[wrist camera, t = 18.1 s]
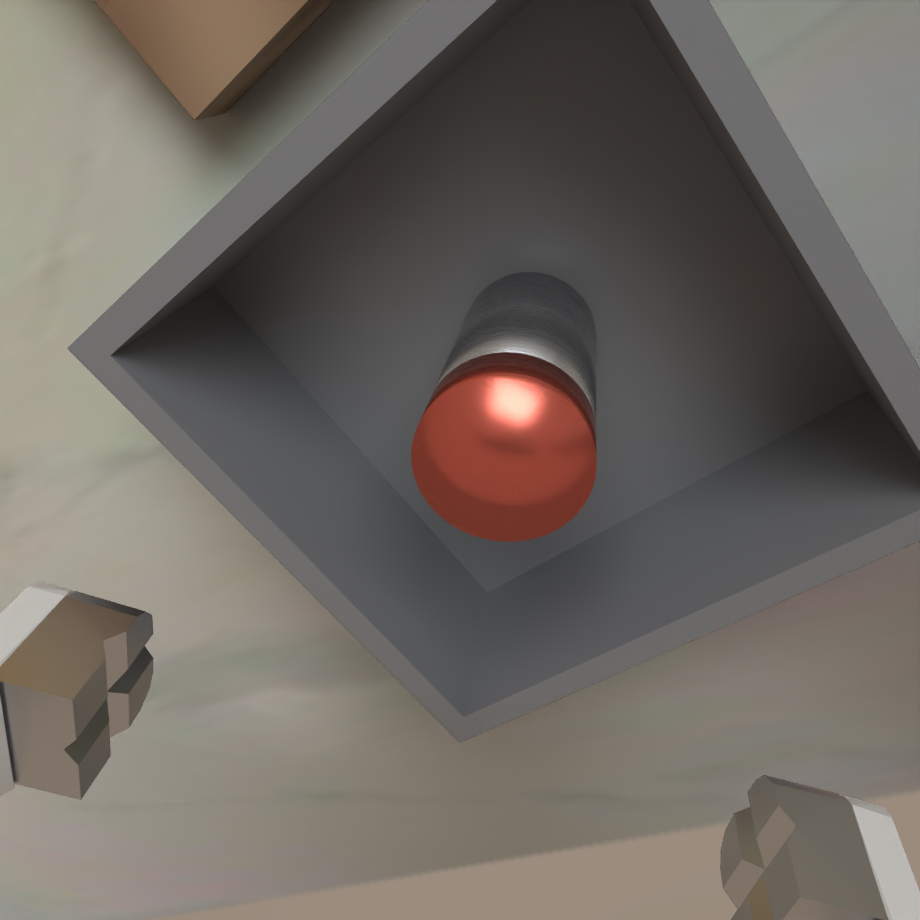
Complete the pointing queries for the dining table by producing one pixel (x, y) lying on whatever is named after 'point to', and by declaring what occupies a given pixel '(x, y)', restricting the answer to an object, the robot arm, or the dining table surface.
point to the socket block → (211, 43)
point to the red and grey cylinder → (513, 413)
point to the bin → (617, 348)
